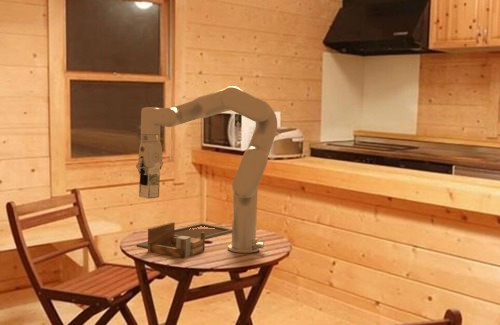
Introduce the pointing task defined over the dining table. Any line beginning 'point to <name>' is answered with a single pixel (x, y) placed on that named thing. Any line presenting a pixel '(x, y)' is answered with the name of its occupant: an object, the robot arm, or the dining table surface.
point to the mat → (143, 244)
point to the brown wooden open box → (167, 240)
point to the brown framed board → (197, 232)
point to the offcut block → (187, 244)
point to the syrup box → (151, 183)
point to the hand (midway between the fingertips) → (149, 183)
